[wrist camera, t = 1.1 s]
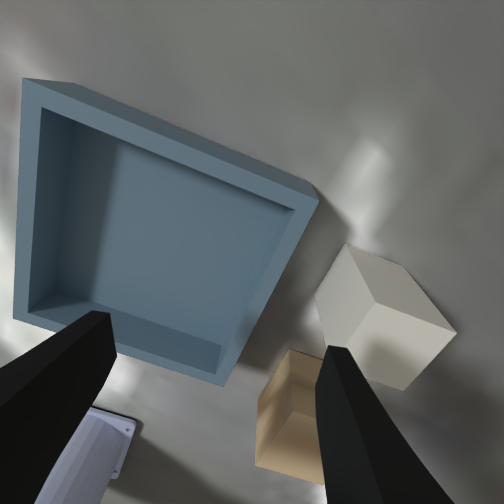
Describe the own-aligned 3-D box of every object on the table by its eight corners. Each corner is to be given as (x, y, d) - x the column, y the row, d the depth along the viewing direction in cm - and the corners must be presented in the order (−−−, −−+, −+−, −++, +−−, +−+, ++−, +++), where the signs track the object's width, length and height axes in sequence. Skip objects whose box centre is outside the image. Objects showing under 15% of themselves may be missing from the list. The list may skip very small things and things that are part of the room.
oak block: (313, 417, 25) (322, 485, 21) (257, 399, 25) (255, 465, 20) (350, 369, 23) (369, 435, 18) (288, 348, 22) (293, 411, 18)
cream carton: (368, 314, 20) (403, 391, 15) (314, 294, 20) (330, 365, 14) (403, 266, 19) (457, 333, 13) (344, 243, 18) (375, 302, 13)
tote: (230, 346, 22) (223, 387, 19) (52, 285, 21) (12, 318, 18) (310, 182, 17) (319, 200, 13) (74, 82, 15) (22, 77, 12)
